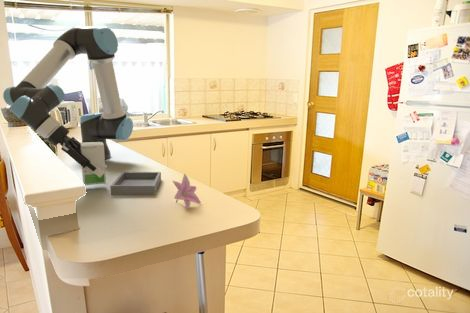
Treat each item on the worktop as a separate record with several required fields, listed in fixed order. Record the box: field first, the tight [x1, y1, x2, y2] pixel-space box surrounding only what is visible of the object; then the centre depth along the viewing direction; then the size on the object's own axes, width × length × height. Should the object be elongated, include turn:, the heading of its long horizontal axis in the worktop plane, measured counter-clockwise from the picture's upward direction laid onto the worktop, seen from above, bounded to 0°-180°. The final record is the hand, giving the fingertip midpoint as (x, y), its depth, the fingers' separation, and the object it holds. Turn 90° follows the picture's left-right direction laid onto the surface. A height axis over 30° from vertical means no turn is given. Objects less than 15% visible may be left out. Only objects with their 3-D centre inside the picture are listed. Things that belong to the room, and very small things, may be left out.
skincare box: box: [80, 142, 107, 186], centre depth 131 cm, size 8×7×16 cm
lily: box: [172, 173, 202, 210], centre depth 119 cm, size 12×12×10 cm
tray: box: [110, 171, 162, 196], centre depth 135 cm, size 18×16×4 cm
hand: (103, 171), depth 133 cm, fingers closed on skincare box, 7 cm apart
